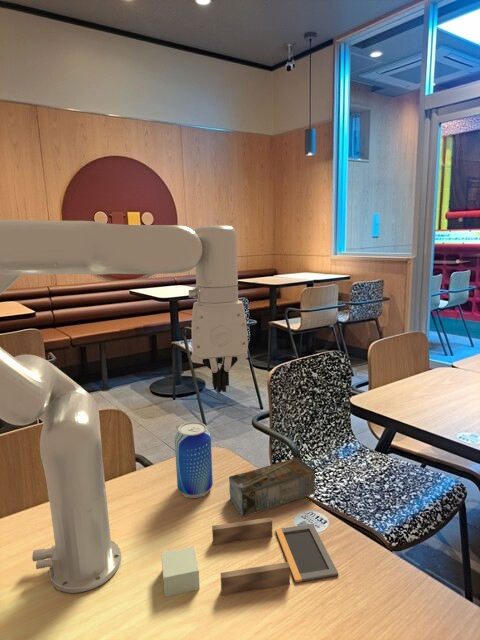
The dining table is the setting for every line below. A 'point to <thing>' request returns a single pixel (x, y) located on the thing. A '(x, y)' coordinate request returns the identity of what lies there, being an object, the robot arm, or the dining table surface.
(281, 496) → the beverage carton
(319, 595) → the dining table surface
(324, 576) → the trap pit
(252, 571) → the brown parallel walls
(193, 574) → the block
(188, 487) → the beer can
